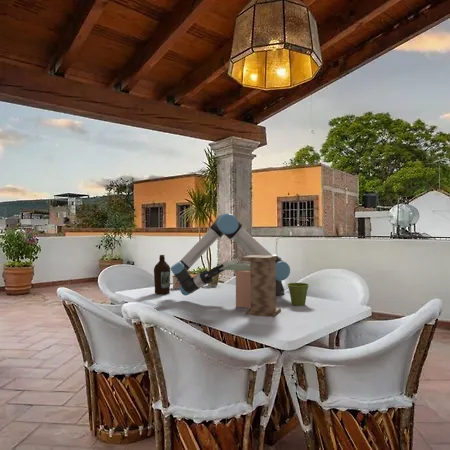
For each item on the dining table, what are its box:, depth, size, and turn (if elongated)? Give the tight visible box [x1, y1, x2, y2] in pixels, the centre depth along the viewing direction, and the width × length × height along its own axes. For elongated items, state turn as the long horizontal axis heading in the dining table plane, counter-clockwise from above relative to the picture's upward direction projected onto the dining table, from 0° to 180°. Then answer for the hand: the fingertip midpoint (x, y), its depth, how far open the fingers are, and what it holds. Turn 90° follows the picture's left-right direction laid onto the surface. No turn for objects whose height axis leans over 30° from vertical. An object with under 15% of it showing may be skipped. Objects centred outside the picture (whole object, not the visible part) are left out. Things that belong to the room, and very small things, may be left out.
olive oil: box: [153, 254, 171, 296], centre depth 246 cm, size 11×11×25 cm
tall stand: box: [240, 254, 282, 318], centre depth 189 cm, size 16×14×28 cm
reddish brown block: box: [235, 270, 251, 309], centre depth 207 cm, size 14×14×19 cm
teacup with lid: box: [172, 274, 181, 290], centre depth 269 cm, size 12×9×12 cm
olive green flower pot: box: [207, 272, 223, 287], centre depth 278 cm, size 13×10×10 cm
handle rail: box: [216, 262, 251, 271], centre depth 210 cm, size 26×6×4 cm, turn 68°
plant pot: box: [286, 282, 310, 307], centre depth 207 cm, size 12×12×11 cm
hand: (233, 261), depth 212 cm, fingers open, 13 cm apart
